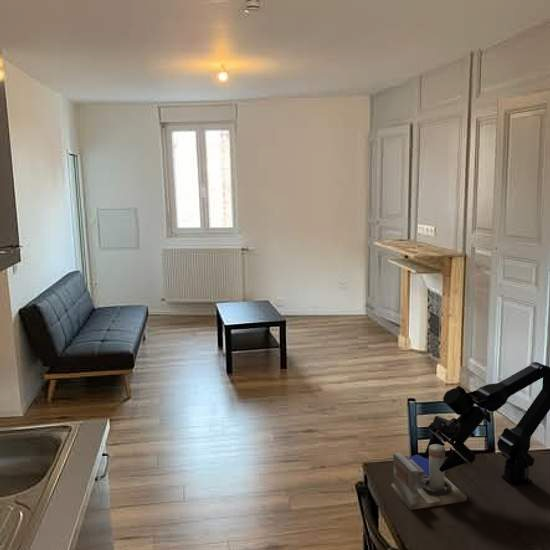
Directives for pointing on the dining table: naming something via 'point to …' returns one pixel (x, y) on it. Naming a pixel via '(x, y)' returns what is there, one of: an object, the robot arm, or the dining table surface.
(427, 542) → the dining table surface
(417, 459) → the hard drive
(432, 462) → the cartridge
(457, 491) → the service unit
